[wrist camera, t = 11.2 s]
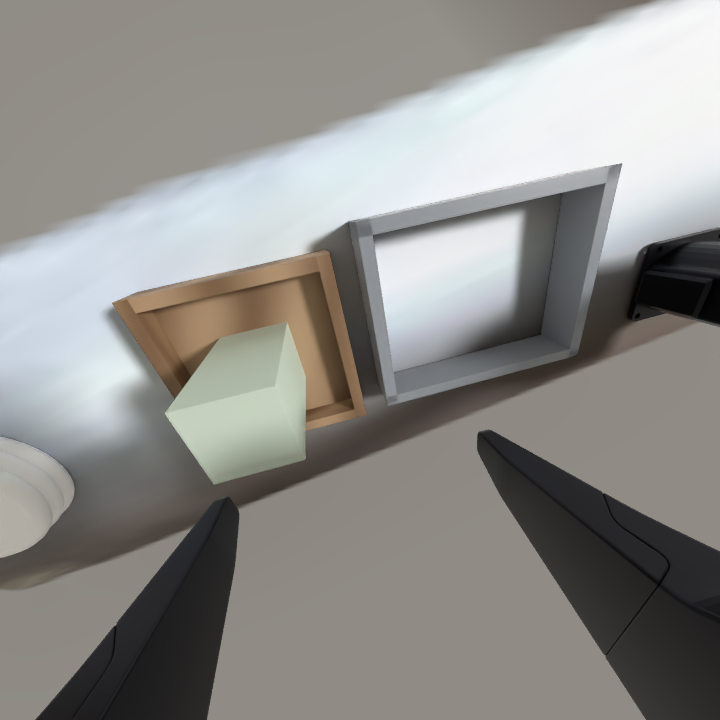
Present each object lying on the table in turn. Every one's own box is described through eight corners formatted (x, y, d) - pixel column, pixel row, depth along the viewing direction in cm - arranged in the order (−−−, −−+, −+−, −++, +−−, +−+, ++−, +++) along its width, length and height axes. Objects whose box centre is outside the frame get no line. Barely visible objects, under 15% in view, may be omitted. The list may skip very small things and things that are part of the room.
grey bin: (575, 171, 18) (622, 163, 15) (547, 340, 24) (577, 355, 21) (348, 221, 17) (355, 222, 14) (378, 384, 23) (388, 405, 20)
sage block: (287, 321, 18) (274, 385, 11) (305, 377, 20) (305, 459, 13) (220, 337, 18) (164, 413, 11) (246, 391, 20) (214, 484, 13)
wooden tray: (326, 249, 17) (329, 253, 15) (360, 396, 23) (366, 414, 21) (137, 292, 17) (112, 303, 15) (221, 433, 22) (212, 456, 20)
